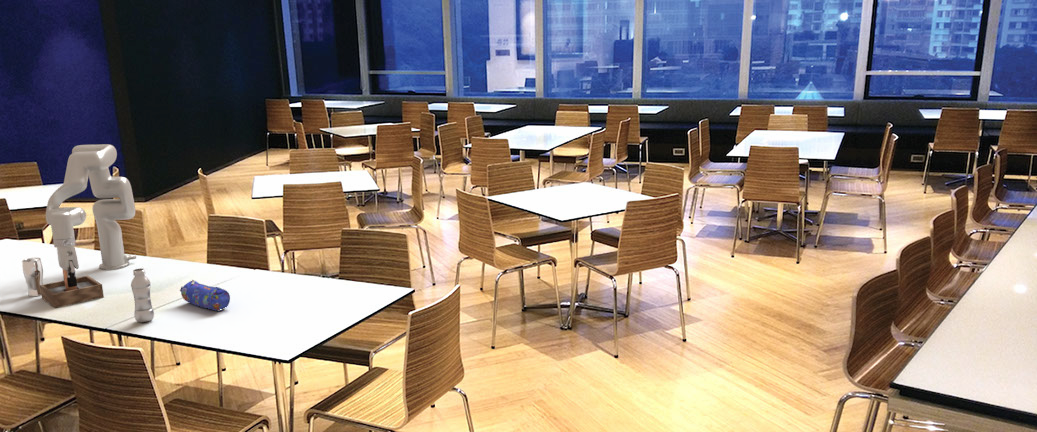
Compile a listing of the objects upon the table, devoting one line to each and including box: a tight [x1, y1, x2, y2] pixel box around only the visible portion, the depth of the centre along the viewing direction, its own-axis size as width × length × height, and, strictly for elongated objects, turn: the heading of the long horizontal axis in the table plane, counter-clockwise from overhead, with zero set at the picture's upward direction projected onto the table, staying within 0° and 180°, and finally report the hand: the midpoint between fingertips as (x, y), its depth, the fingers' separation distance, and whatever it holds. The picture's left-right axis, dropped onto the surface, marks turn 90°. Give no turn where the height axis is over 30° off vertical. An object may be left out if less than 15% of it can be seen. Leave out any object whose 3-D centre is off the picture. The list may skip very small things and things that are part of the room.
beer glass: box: [21, 257, 44, 298], centre depth 323 cm, size 7×7×15 cm
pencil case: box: [179, 279, 231, 312], centre depth 306 cm, size 22×9×10 cm, turn 54°
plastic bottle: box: [130, 268, 155, 323], centre depth 290 cm, size 6×7×20 cm
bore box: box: [40, 275, 105, 309], centre depth 319 cm, size 18×18×6 cm
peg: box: [62, 268, 77, 291], centre depth 318 cm, size 4×4×12 cm
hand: (70, 284), depth 319 cm, fingers closed on peg, 4 cm apart
